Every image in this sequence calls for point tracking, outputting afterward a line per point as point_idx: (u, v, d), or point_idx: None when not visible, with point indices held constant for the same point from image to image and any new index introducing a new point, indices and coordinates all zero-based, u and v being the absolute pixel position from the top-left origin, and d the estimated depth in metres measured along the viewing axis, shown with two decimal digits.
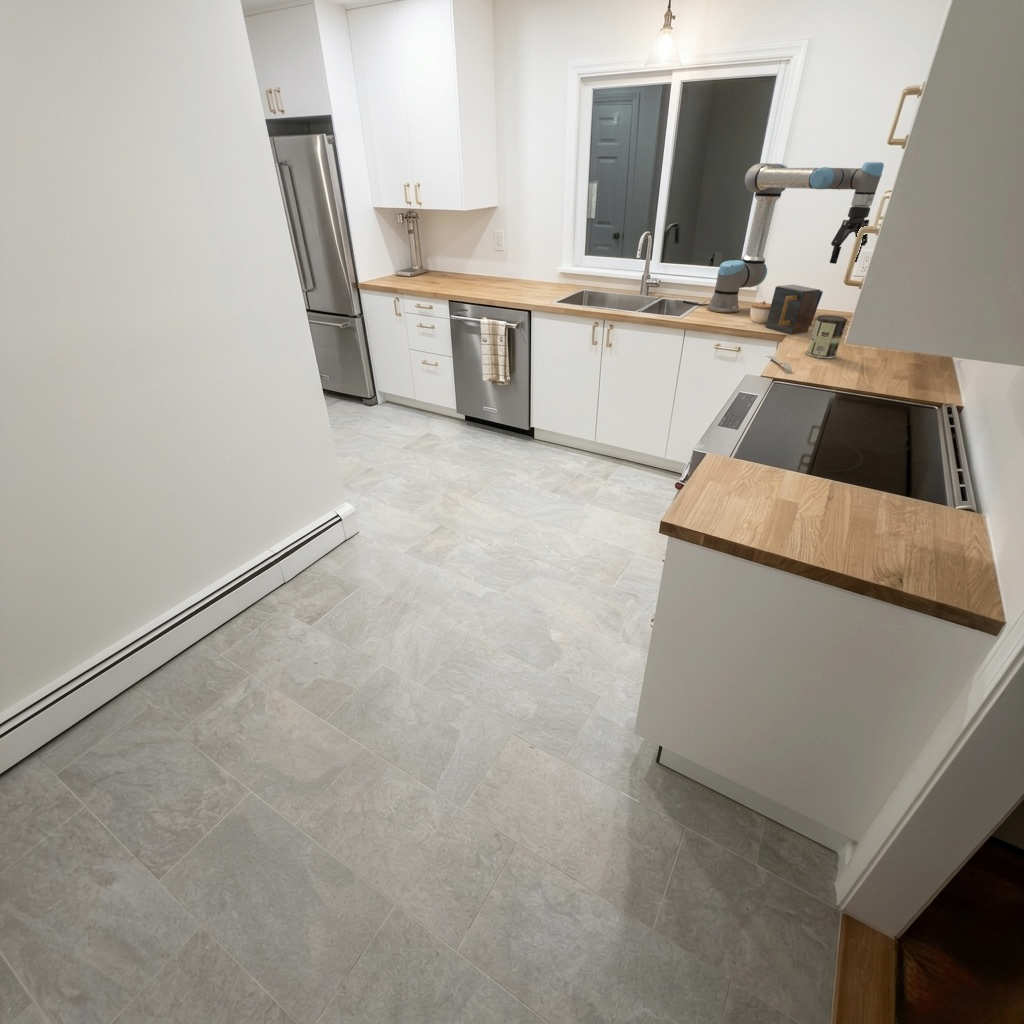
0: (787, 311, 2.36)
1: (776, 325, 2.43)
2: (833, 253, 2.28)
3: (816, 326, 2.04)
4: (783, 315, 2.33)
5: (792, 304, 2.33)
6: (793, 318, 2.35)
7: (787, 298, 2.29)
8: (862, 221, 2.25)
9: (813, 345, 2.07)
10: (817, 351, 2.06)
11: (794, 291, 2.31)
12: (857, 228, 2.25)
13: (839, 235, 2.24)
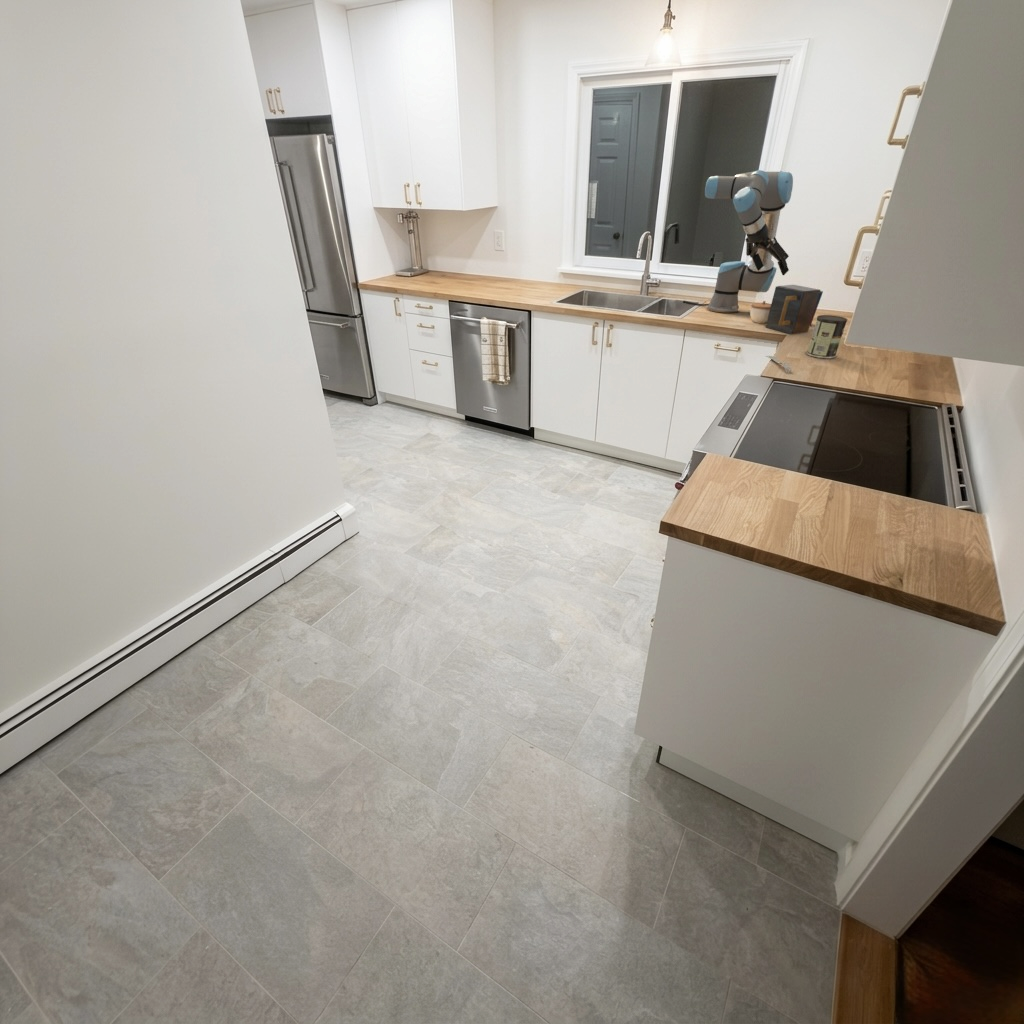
0: (787, 311, 2.36)
1: (776, 325, 2.43)
2: (785, 265, 2.11)
3: (816, 326, 2.04)
4: (783, 315, 2.33)
5: (792, 304, 2.33)
6: (793, 318, 2.35)
7: (787, 298, 2.29)
8: None
9: (813, 345, 2.07)
10: (817, 351, 2.06)
11: (794, 291, 2.31)
12: None
13: (782, 250, 2.07)
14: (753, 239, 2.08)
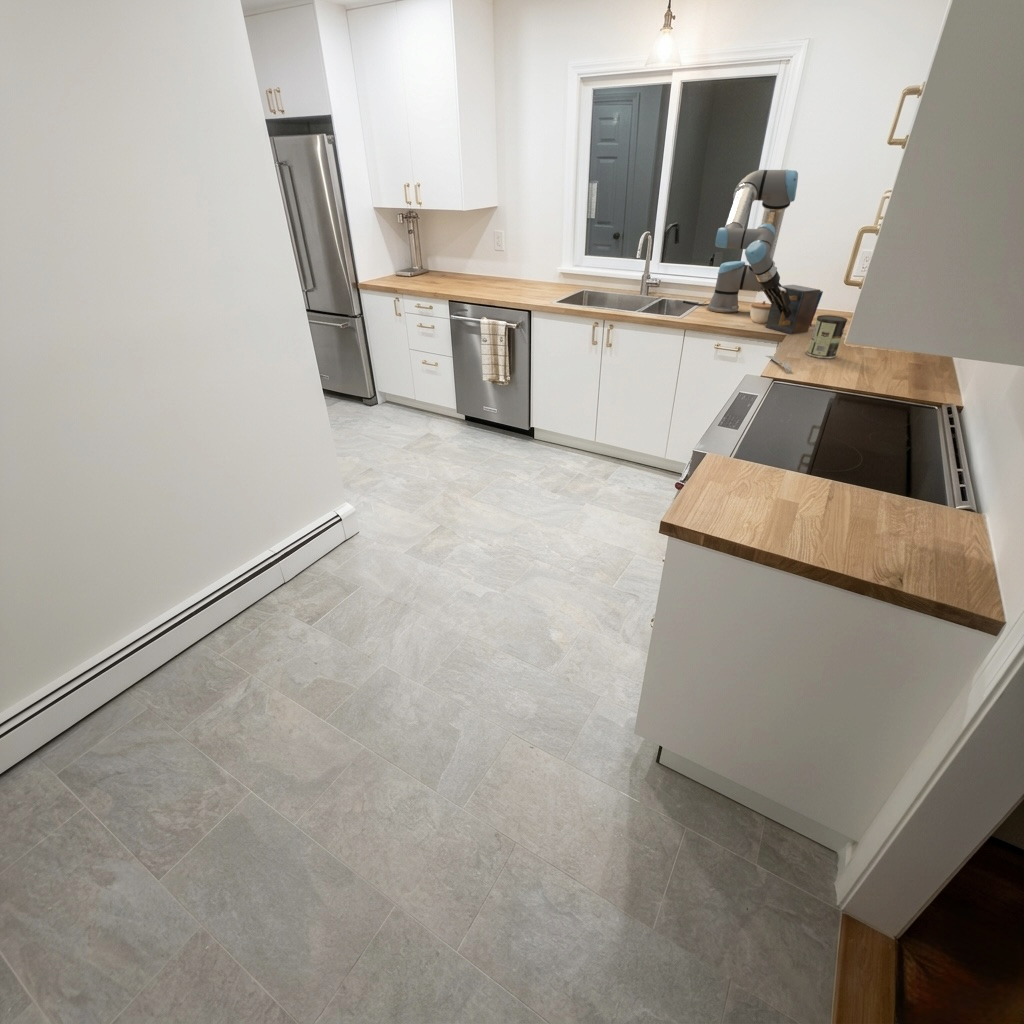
0: None
1: (776, 325, 2.43)
2: (788, 310, 2.30)
3: (816, 326, 2.04)
4: (783, 315, 2.33)
5: (792, 304, 2.33)
6: (793, 318, 2.35)
7: None
8: None
9: (813, 345, 2.07)
10: (817, 351, 2.06)
11: (794, 291, 2.31)
12: None
13: (788, 299, 2.24)
14: (765, 286, 2.21)
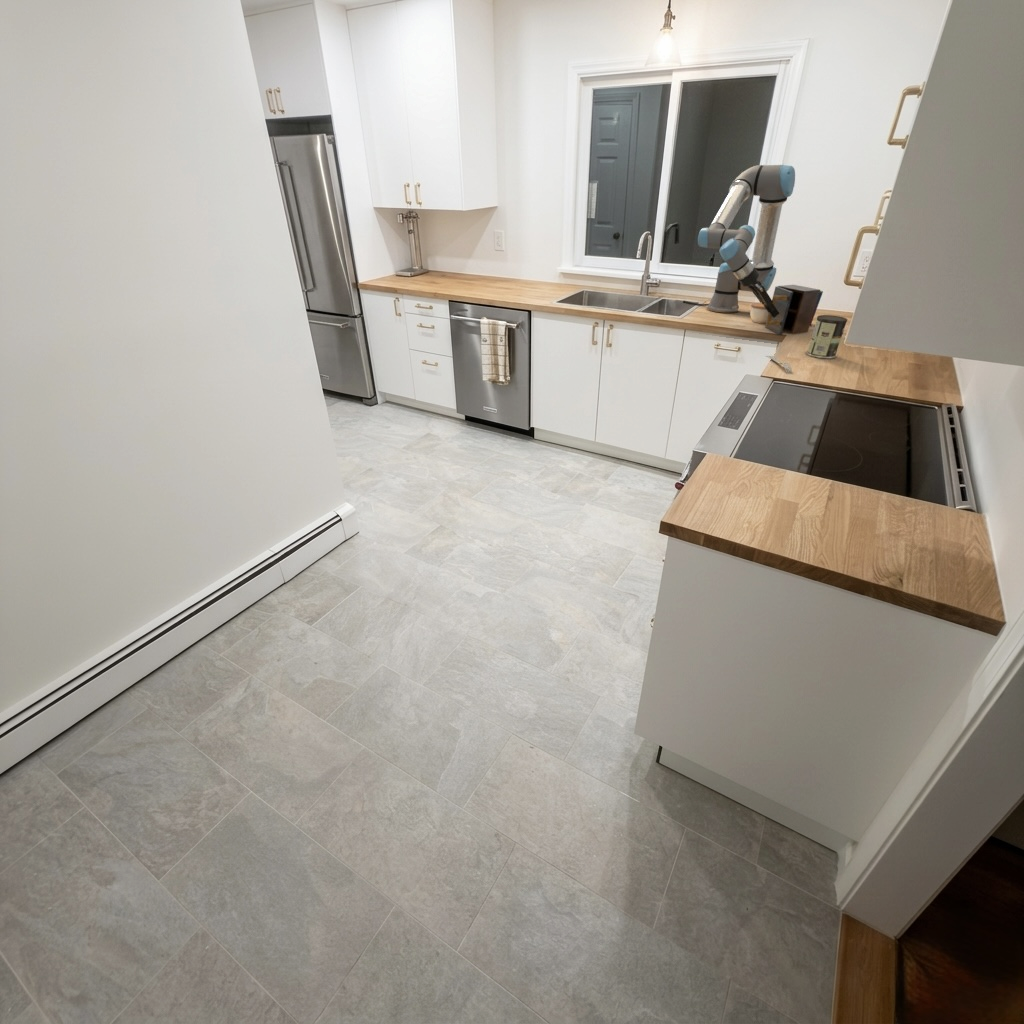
0: (779, 311, 2.36)
1: (771, 325, 2.42)
2: (773, 309, 2.30)
3: (816, 326, 2.04)
4: (770, 314, 2.33)
5: (783, 304, 2.33)
6: (782, 318, 2.33)
7: (774, 297, 2.30)
8: None
9: (813, 345, 2.07)
10: (817, 351, 2.06)
11: (786, 291, 2.31)
12: None
13: (768, 297, 2.26)
14: (743, 284, 2.26)
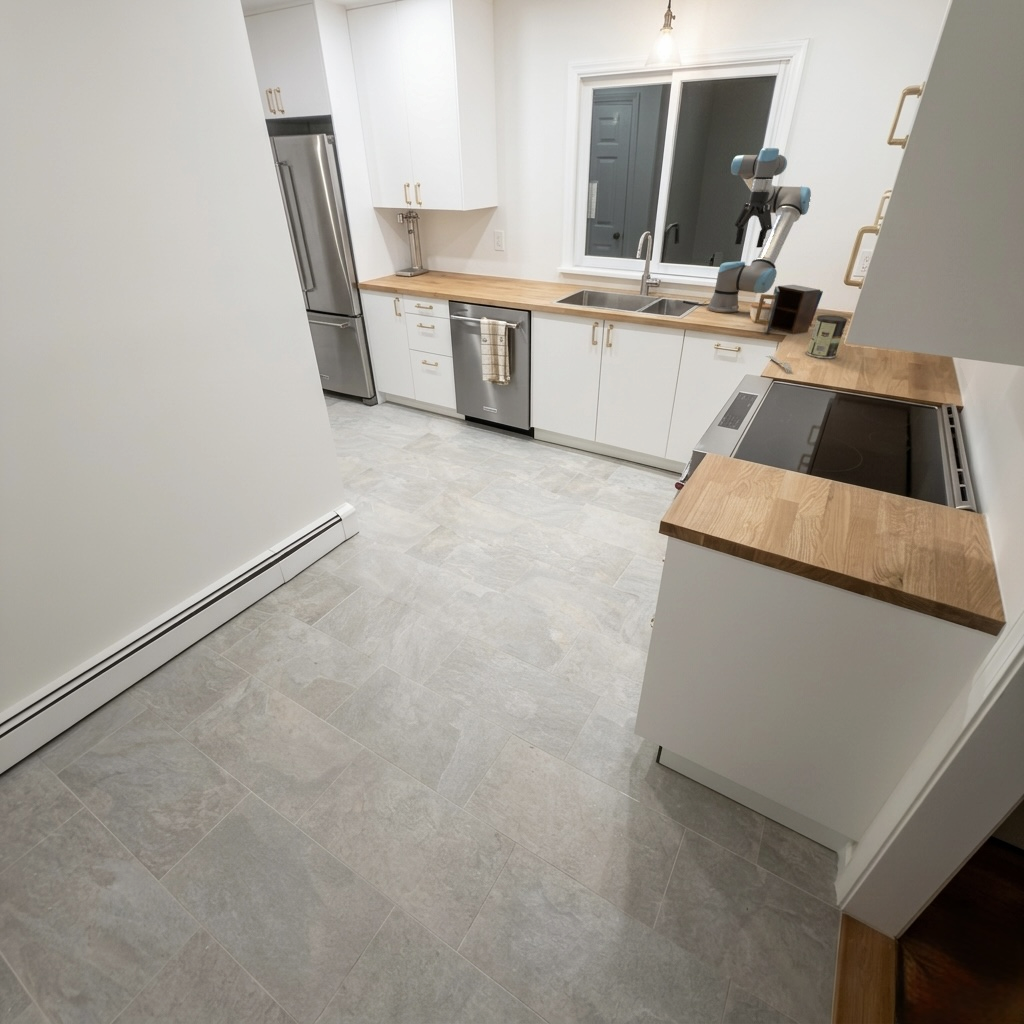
0: (770, 311, 2.36)
1: (766, 325, 2.43)
2: (763, 237, 2.34)
3: (816, 326, 2.04)
4: (757, 313, 2.36)
5: (773, 304, 2.33)
6: (769, 318, 2.34)
7: (761, 296, 2.32)
8: None
9: (813, 345, 2.07)
10: (817, 351, 2.06)
11: (776, 291, 2.31)
12: None
13: (770, 220, 2.30)
14: (755, 197, 2.30)
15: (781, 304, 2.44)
